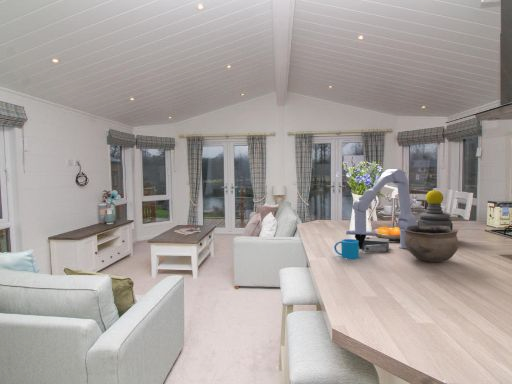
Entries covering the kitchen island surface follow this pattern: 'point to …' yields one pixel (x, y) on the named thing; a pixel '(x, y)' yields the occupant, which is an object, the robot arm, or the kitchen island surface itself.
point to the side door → (376, 248)
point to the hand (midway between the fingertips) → (360, 248)
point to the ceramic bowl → (431, 242)
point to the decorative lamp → (435, 212)
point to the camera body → (375, 241)
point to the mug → (349, 248)
